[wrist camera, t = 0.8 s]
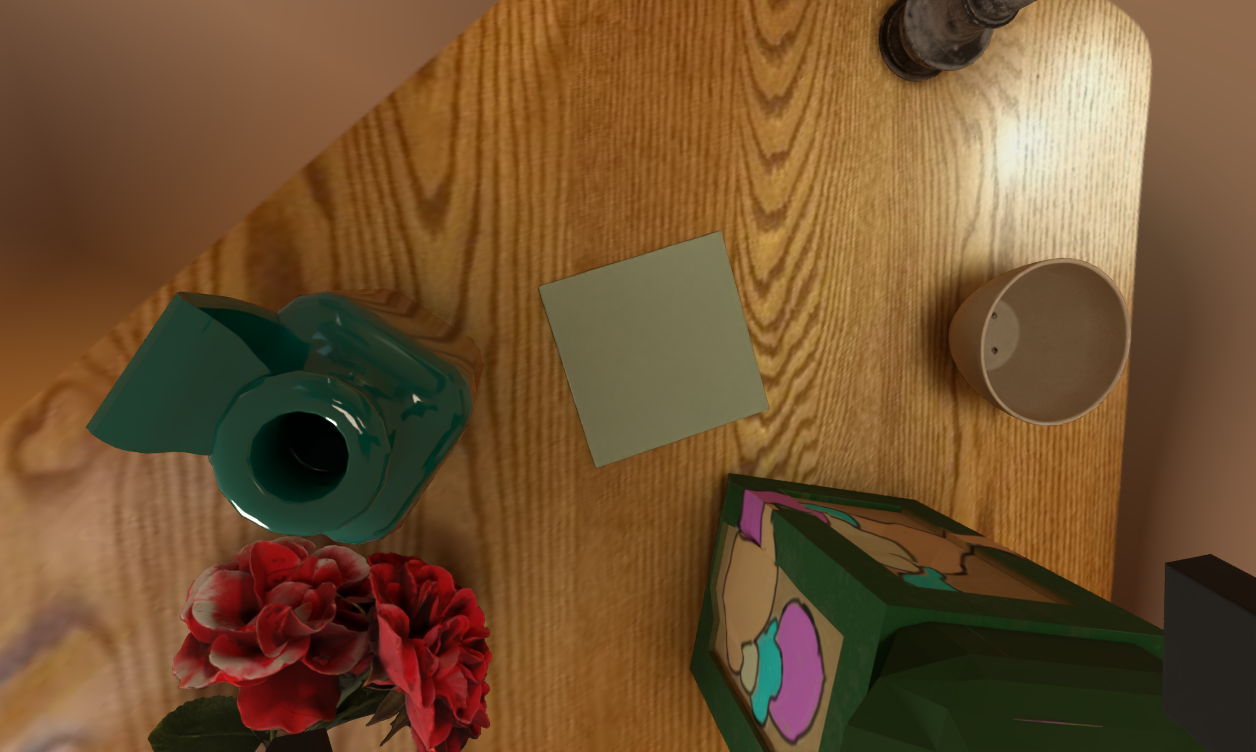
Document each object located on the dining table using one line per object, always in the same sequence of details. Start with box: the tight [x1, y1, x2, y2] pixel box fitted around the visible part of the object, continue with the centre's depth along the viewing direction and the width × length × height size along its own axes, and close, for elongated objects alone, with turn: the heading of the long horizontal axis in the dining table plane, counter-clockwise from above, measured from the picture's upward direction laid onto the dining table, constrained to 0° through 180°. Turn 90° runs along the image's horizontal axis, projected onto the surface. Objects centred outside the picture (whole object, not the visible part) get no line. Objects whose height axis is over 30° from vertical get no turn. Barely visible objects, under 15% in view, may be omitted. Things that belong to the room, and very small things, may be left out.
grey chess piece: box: [879, 0, 1037, 82], centre depth 41 cm, size 6×6×12 cm
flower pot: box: [948, 258, 1131, 426], centre depth 47 cm, size 10×10×7 cm
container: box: [690, 473, 1209, 752], centre depth 38 cm, size 15×18×25 cm
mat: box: [538, 231, 769, 468], centre depth 46 cm, size 12×12×1 cm
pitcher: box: [86, 289, 484, 545], centre depth 33 cm, size 10×8×22 cm
